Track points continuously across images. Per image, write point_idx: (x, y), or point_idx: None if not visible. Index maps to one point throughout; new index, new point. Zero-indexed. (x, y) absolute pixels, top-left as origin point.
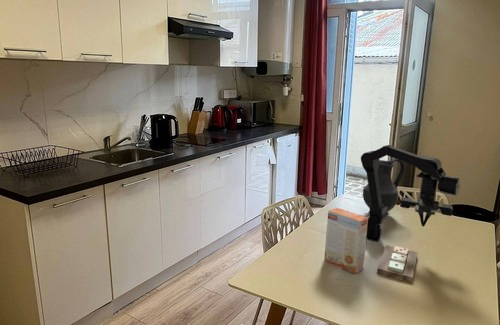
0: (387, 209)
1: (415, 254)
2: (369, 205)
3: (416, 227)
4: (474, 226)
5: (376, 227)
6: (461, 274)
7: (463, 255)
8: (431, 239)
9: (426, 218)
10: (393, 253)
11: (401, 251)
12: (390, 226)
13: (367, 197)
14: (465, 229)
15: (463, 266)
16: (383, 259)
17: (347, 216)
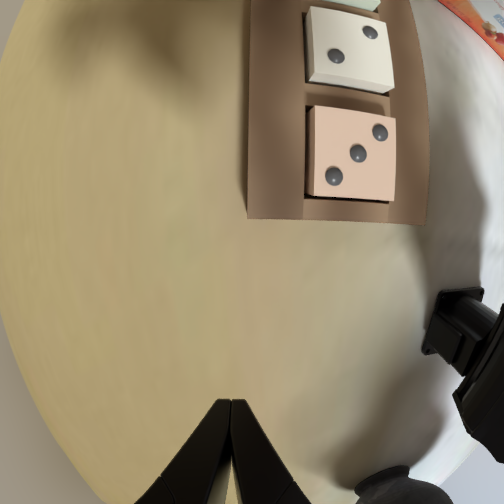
0: (492, 452)
1: (258, 172)
2: (429, 483)
3: None
4: (122, 499)
5: (486, 332)
6: (46, 139)
7: (65, 343)
8: None
9: (176, 502)
10: (389, 76)
11: (352, 128)
12: (359, 448)
13: (447, 497)
14: (132, 490)
15: (42, 231)
16: (409, 37)
17: None
